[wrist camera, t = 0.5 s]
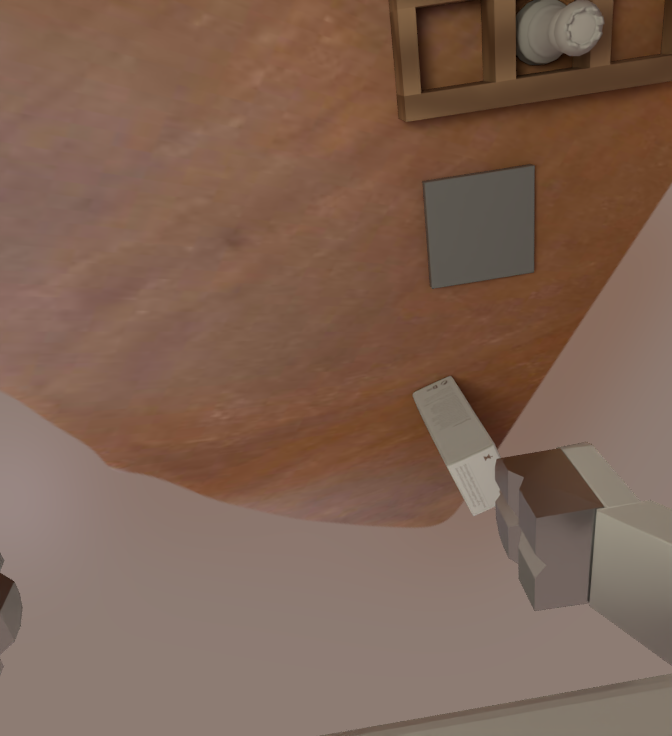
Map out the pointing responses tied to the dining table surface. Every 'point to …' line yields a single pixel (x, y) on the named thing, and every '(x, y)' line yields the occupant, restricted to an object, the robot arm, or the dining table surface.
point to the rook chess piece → (556, 30)
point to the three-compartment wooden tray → (500, 65)
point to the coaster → (480, 225)
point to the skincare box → (461, 442)
